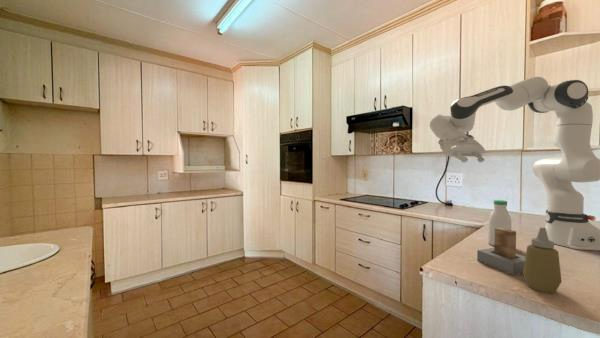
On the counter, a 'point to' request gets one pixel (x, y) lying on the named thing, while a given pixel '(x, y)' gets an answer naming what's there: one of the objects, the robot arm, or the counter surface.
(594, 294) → the counter surface
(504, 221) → the milk bottle
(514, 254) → the wooden block
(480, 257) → the grey hollow block
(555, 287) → the squeeze bottle
